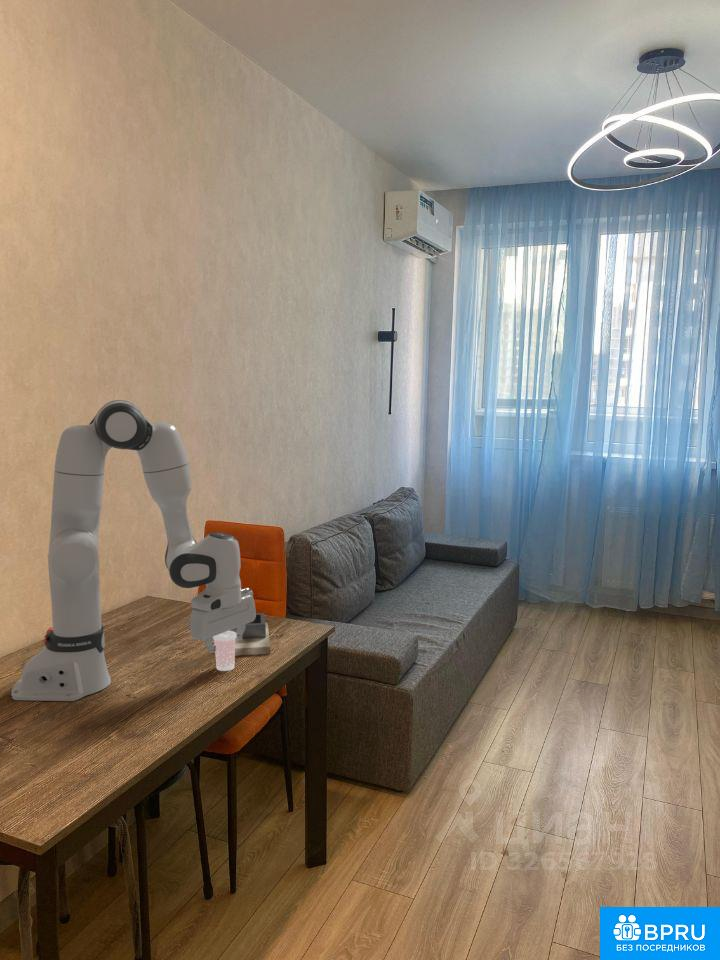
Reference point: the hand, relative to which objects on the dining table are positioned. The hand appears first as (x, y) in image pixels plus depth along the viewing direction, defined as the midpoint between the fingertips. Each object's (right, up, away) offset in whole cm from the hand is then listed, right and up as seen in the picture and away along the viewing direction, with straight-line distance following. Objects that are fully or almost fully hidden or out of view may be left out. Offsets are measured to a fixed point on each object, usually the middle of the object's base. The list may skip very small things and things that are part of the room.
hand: (225, 646), depth 195 cm
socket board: (+3, -3, +19) cm, 20 cm away
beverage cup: (0, -6, +1) cm, 6 cm away
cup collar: (+3, -1, +21) cm, 21 cm away
